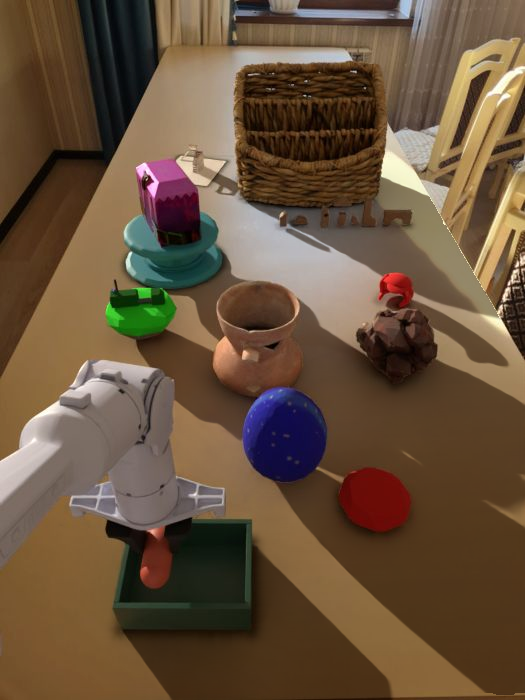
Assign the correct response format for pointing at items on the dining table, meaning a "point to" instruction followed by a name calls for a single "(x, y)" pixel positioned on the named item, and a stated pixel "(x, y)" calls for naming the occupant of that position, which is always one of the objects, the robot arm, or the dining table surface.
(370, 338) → the mineral specimen
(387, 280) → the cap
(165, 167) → the decorative object
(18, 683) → the dining table surface
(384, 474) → the gemstone
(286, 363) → the ceramic jug
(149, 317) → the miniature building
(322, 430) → the ornament
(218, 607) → the bin
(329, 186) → the basket
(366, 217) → the wooden blocks
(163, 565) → the red capsule pill
